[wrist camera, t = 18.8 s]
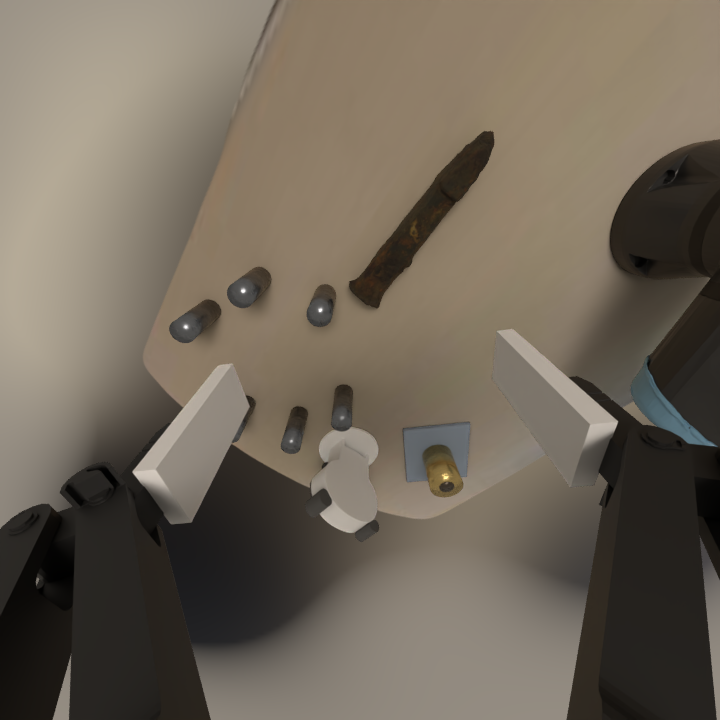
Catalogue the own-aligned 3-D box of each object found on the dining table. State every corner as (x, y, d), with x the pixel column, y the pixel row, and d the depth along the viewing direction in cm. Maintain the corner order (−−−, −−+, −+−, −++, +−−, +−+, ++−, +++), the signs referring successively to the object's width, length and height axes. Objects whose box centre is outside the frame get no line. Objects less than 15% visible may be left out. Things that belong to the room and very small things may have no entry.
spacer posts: (329, 257, 40) (323, 270, 33) (356, 414, 53) (356, 447, 46) (186, 276, 41) (151, 293, 34) (247, 425, 54) (230, 459, 47)
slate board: (469, 421, 54) (470, 424, 54) (465, 474, 61) (466, 476, 60) (402, 428, 55) (403, 430, 54) (406, 479, 62) (407, 482, 61)
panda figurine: (304, 450, 57) (288, 526, 44) (341, 414, 53) (336, 487, 40) (352, 477, 61) (350, 554, 48) (390, 446, 57) (400, 522, 44)
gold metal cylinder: (452, 443, 56) (464, 474, 50) (450, 463, 59) (462, 496, 53) (422, 446, 56) (430, 477, 50) (422, 466, 59) (430, 498, 53)
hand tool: (373, 302, 43) (376, 316, 39) (347, 281, 42) (346, 293, 37) (500, 158, 35) (523, 153, 30) (474, 125, 34) (494, 114, 29)
